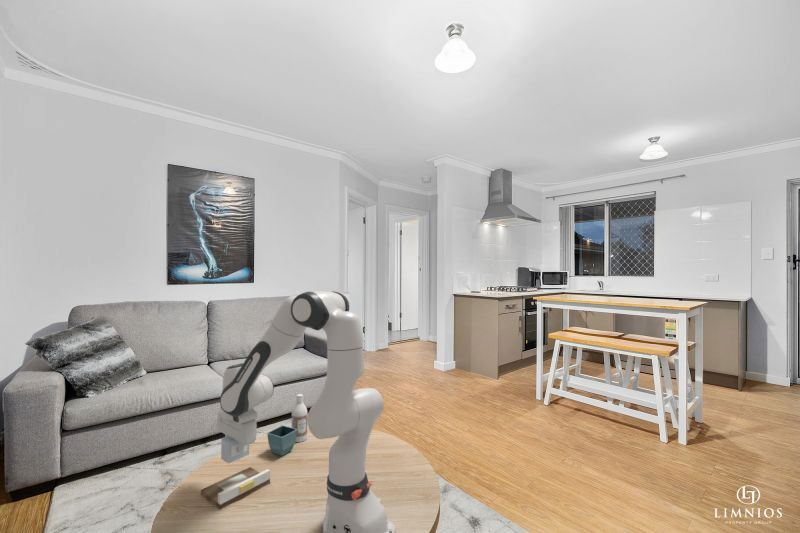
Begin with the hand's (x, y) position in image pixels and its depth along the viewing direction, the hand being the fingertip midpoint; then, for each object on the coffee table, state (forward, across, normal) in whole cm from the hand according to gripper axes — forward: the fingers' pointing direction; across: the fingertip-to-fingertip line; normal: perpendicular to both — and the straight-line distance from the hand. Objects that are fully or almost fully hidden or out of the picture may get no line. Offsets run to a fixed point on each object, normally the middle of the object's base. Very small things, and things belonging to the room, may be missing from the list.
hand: (235, 449), depth 127 cm
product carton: (+3, 0, 0) cm, 3 cm away
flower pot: (+14, -8, +25) cm, 29 cm away
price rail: (+12, +7, 0) cm, 14 cm away
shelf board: (+13, +1, 0) cm, 13 cm away
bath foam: (+14, -12, +37) cm, 41 cm away
